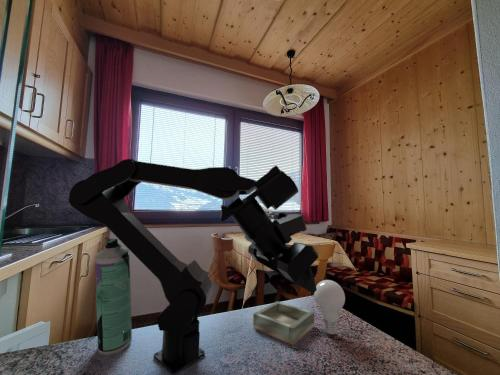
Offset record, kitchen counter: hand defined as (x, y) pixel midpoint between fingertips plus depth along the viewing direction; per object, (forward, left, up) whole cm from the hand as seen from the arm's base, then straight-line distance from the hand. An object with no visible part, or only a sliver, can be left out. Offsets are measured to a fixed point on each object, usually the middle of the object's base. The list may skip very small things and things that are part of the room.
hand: (300, 283), depth 45 cm
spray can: (-27, -24, -11) cm, 37 cm away
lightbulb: (+3, +8, -12) cm, 14 cm away
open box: (-6, +4, -11) cm, 13 cm away
